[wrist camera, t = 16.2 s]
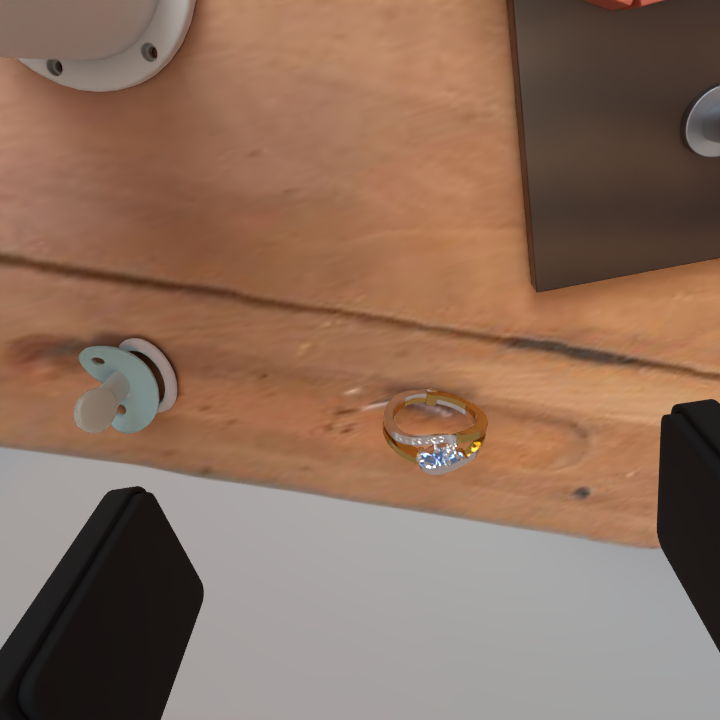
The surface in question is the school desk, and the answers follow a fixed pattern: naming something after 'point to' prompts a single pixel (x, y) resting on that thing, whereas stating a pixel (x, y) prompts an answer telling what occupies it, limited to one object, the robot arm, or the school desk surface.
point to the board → (613, 136)
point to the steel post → (703, 123)
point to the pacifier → (124, 387)
